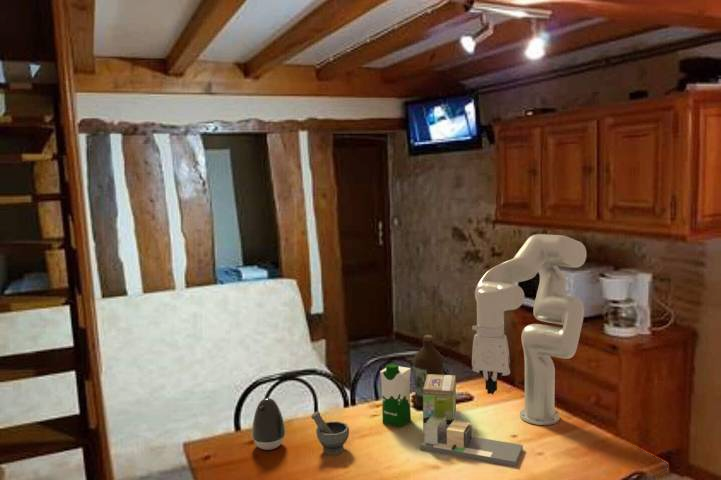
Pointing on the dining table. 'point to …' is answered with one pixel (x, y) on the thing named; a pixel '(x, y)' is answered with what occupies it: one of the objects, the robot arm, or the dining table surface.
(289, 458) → the dining table surface
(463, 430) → the block
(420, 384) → the olive oil
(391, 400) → the milk carton
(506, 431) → the dining table surface
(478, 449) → the base
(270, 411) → the aroma diffuser
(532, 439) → the dining table surface
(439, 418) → the light grey block
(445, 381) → the tea box
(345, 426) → the mortar and pestle
